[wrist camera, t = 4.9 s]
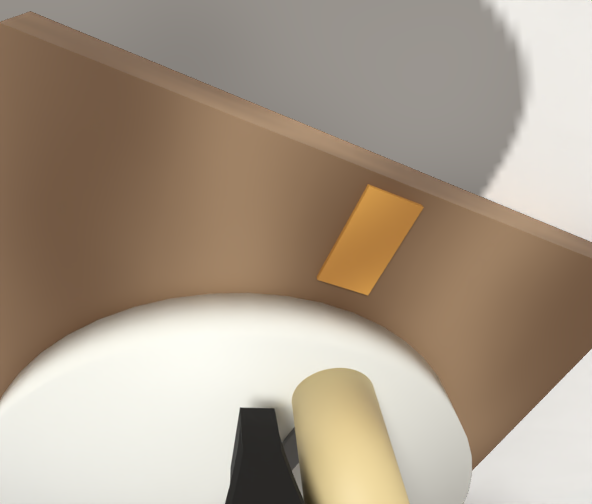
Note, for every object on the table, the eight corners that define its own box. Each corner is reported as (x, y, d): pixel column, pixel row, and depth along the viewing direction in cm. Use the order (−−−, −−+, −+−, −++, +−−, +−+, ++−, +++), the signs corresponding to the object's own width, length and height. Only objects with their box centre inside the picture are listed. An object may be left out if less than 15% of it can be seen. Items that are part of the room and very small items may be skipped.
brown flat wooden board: (-54, 558, 19) (-76, 605, 18) (30, 11, 9) (-5, 23, 8) (313, 591, 24) (318, 630, 22) (618, 253, 14) (658, 286, 13)
